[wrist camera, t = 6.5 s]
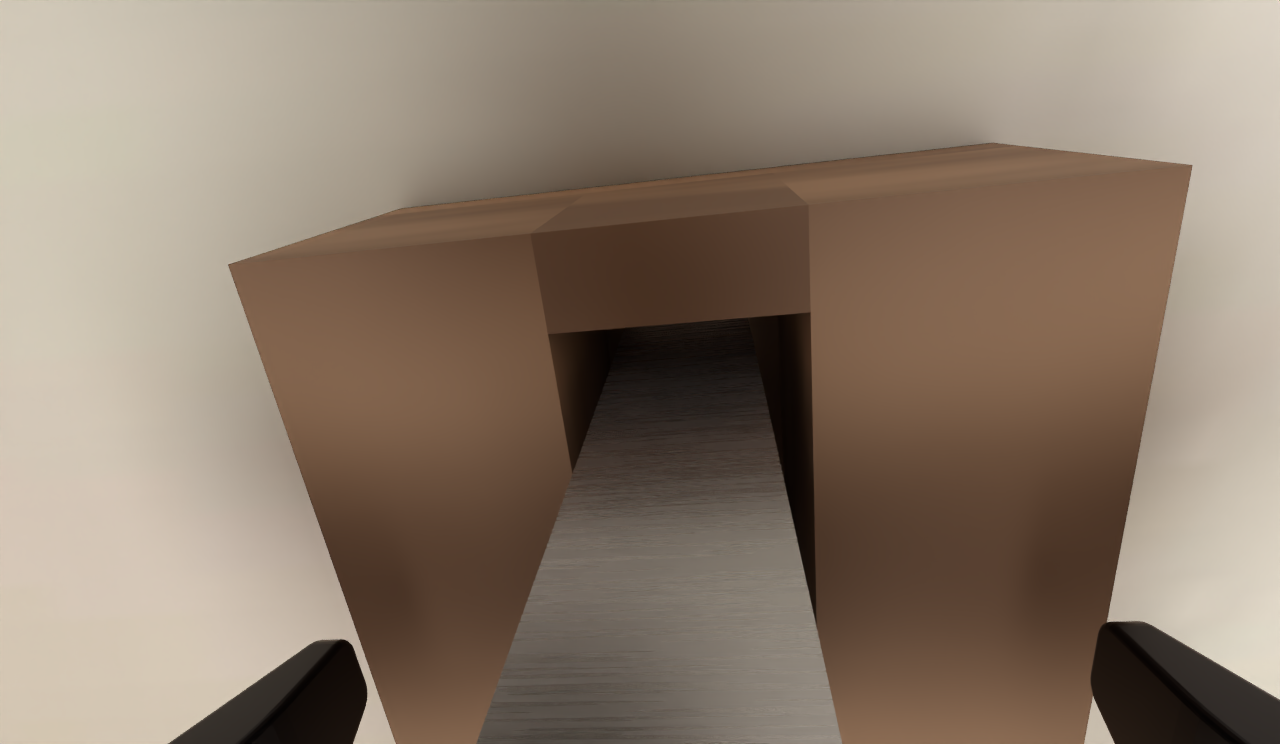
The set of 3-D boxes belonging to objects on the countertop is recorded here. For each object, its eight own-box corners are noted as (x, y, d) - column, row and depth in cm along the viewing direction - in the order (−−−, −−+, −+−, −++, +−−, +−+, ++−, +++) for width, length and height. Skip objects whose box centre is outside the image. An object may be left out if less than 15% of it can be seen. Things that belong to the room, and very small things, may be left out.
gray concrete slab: (760, 563, 14) (876, 1464, 5) (667, 567, 14) (604, 1429, 5) (742, 292, 12) (893, 969, 2) (633, 303, 12) (400, 955, 3)
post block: (956, 598, 15) (1070, 815, 10) (499, 611, 16) (418, 809, 12) (992, 142, 11) (1193, 164, 7) (400, 209, 13) (228, 264, 8)
